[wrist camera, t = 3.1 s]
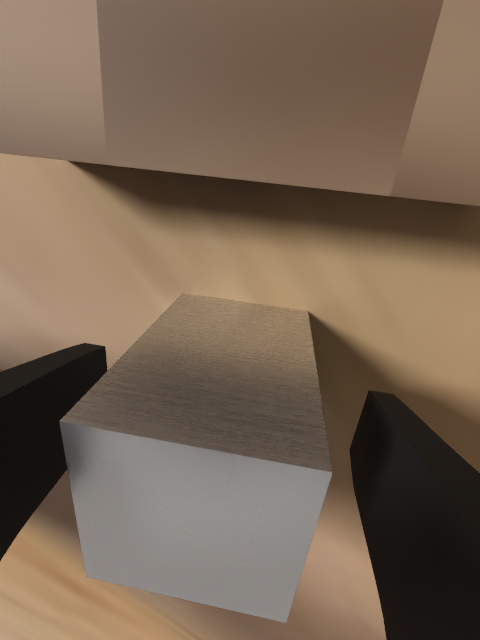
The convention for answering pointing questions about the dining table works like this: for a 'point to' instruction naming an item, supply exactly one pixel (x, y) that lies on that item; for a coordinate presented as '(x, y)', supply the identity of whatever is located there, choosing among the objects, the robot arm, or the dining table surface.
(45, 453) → the robot arm
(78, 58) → the walnut bore block
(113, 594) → the dining table surface
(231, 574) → the square bit
